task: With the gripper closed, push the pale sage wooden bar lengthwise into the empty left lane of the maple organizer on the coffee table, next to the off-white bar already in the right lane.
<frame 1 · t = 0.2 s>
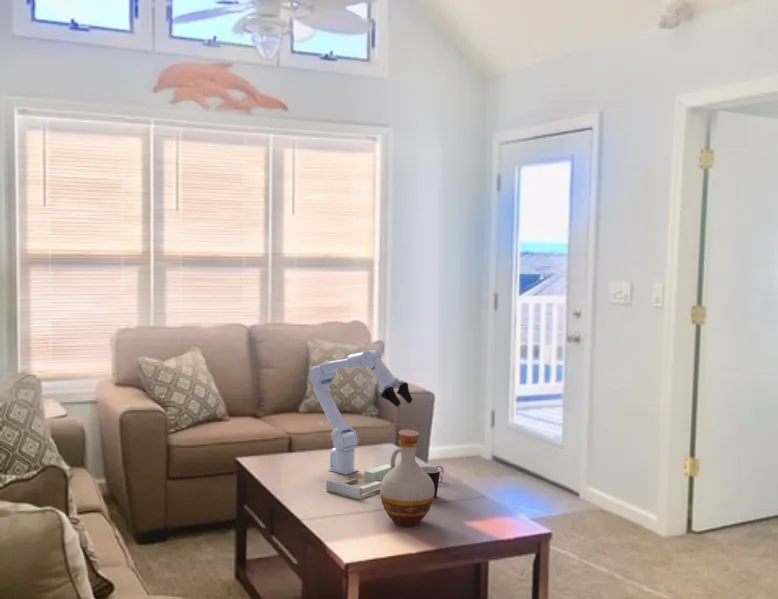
hand: (404, 403, 304), 31 cm above the table, tool tilted 45°, fingers open, 7 cm apart
organizer: (358, 489, 298), on the table
sage bar: (379, 478, 314), on the table
jug: (404, 522, 265), on the table
white bar: (367, 492, 297), resting in organizer
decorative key: (419, 484, 308), on the table
coffee mug: (424, 496, 293), on the table
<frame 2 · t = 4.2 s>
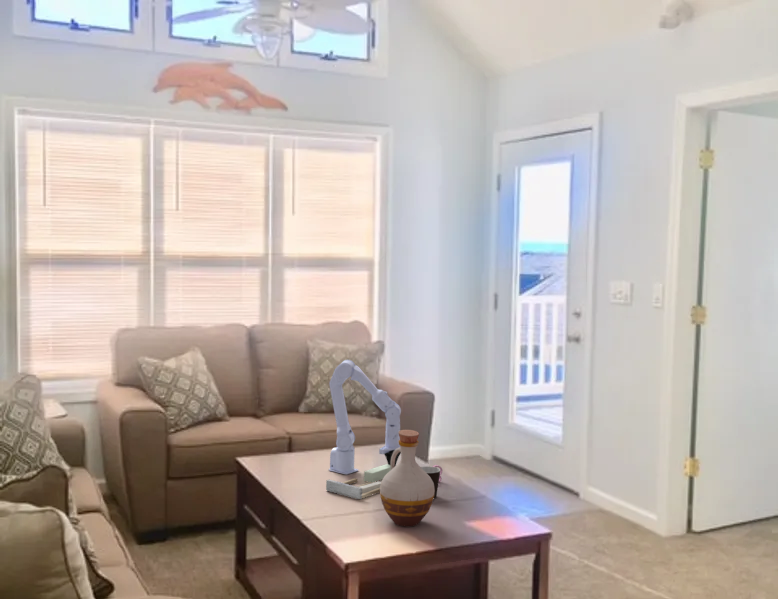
hand: (391, 468, 320), 2 cm above the table, tool pointing down, fingers closed
sage bar: (379, 478, 314), on the table, touching gripper
everything else where it was.
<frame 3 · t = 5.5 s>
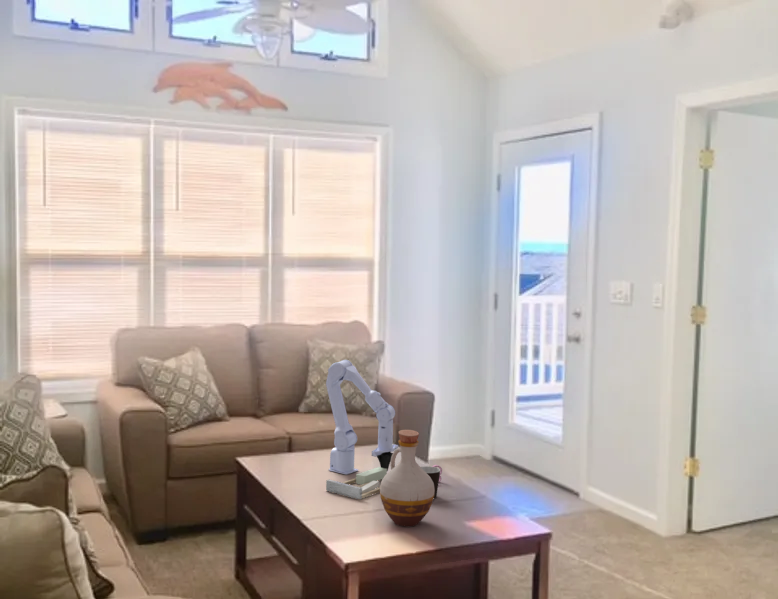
hand: (384, 471, 316), 2 cm above the table, tool pointing down, fingers closed
sage bar: (371, 481, 310), on the table, touching gripper
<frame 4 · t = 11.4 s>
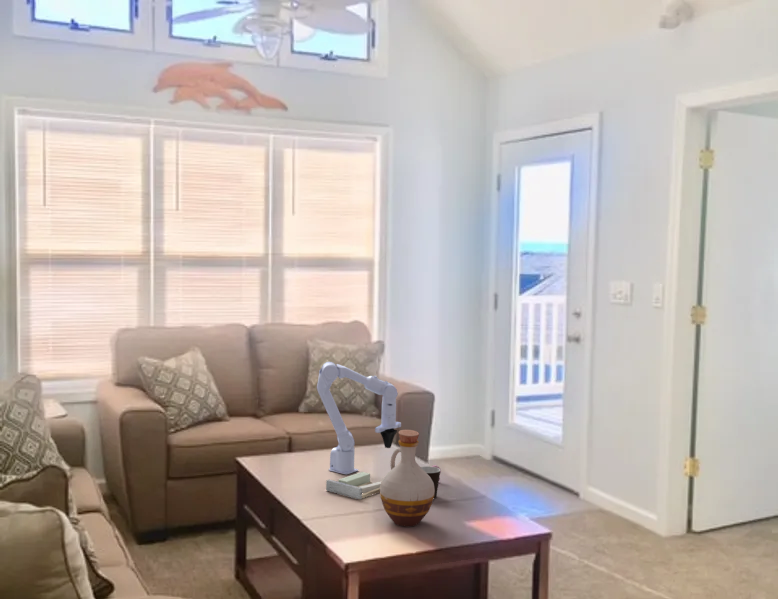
hand: (387, 447, 324), 9 cm above the table, tool pointing down, fingers closed
sage bar: (354, 487, 302), resting in organizer
at the end: sage bar 0.6 cm from the target spot, resting in organizer; sage bar tilted 0°; white bar moved 0.4 cm from its start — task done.
